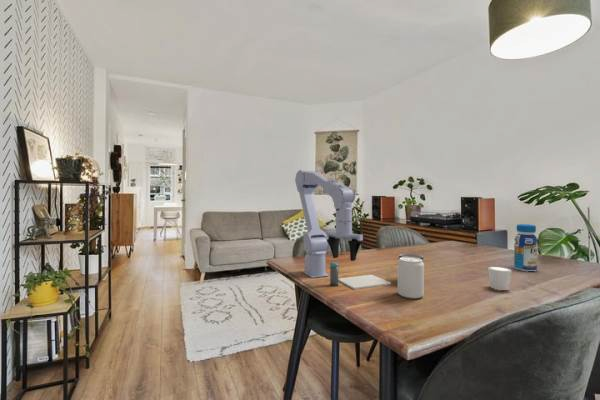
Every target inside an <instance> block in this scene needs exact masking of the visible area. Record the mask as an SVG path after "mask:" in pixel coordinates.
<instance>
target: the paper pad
mask: <svg viewBox="0 0 600 400" xmlns="http://www.w3.org/2000/svg"><path fill="white" fill-rule="evenodd" d="M338 283H341V284H343V285H345V286H347V287H349V288H351V289H353V290H360V289H367V288H375V287H381V286H387V285H388V286H389V285H392V282H391V281H388V280H386V279H384V278H381V277H378V276H376V275H374V274H365V275H357V276H356V275H355V276H350V277H349V276H348V277H341V278H339V277H338Z"/></svg>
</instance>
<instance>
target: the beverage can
mask: <svg viewBox="0 0 600 400" xmlns="http://www.w3.org/2000/svg"><path fill="white" fill-rule="evenodd" d="M399 259H400V260H399ZM424 285H425V263H424V261H423V262H422V259H420V258H415V257H401V258H399V257H398V261H397V294H398V295H400V296H401V297H403V298H407V299H413V300H414V299H415V300H416V299H420V298H422V297H424V295H425V294H424V293H425V291H424V290H425V286H424Z"/></svg>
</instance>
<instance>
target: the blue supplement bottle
mask: <svg viewBox="0 0 600 400" xmlns="http://www.w3.org/2000/svg"><path fill="white" fill-rule="evenodd" d="M536 229H537V227H536V225H535V224H530V223H529V224H525V223H521V224H520V223H519V224H518V223H517V224H516V233H517V234H516V235H515V237H514V241H515V243H514V244H513V247H514V248H513V249H514V250H513V251H514V254H513V255H514V257H513V261H514V262H513V268H514V269H515V270H518V271H522V272H528V271H535V272H537V271H538V249H539V247H538V238H537V236H536V235H535V234H536V232H537V231H536Z"/></svg>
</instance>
